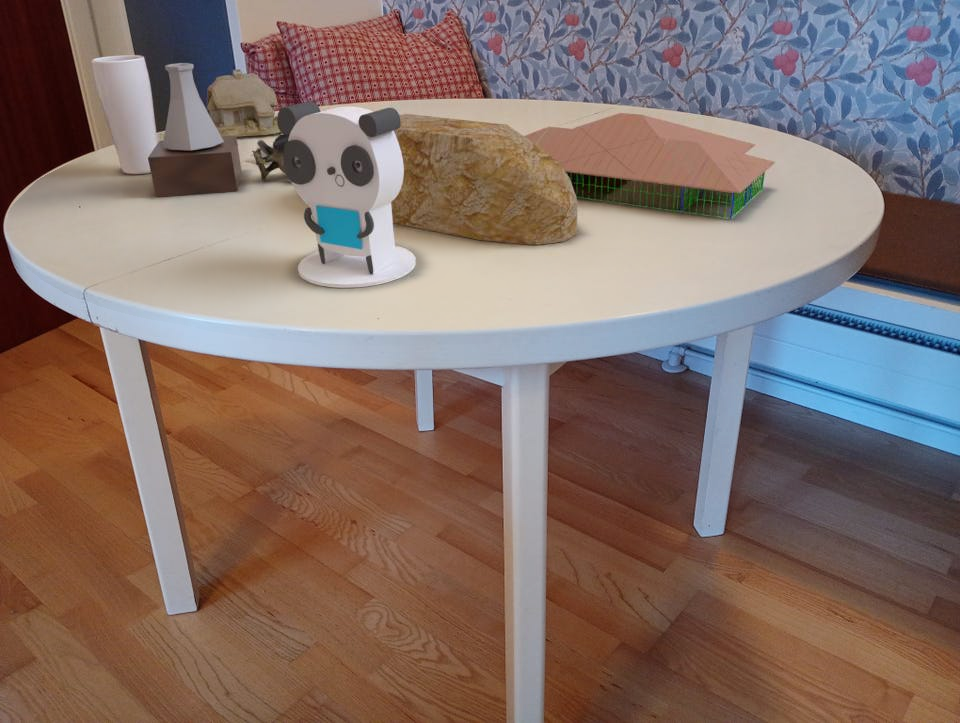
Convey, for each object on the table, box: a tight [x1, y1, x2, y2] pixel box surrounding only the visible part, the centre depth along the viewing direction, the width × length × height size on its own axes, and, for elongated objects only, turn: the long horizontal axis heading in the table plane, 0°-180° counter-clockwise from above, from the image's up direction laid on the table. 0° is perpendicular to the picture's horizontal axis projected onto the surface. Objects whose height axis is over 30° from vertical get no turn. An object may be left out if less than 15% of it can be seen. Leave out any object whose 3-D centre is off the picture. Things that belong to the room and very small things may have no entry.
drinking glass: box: [91, 54, 159, 175], centre depth 112 cm, size 7×7×15 cm
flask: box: [162, 62, 224, 150], centre depth 104 cm, size 7×7×10 cm
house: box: [524, 112, 776, 220], centre depth 103 cm, size 23×33×8 cm
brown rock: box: [391, 113, 579, 246], centre depth 92 cm, size 36×11×10 cm, turn 56°
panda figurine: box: [276, 100, 417, 289], centre depth 77 cm, size 12×11×15 cm
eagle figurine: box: [252, 134, 292, 184], centre depth 108 cm, size 8×7×9 cm
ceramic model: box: [206, 68, 281, 138], centre depth 135 cm, size 14×11×10 cm
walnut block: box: [148, 136, 243, 198], centre depth 107 cm, size 10×10×5 cm
